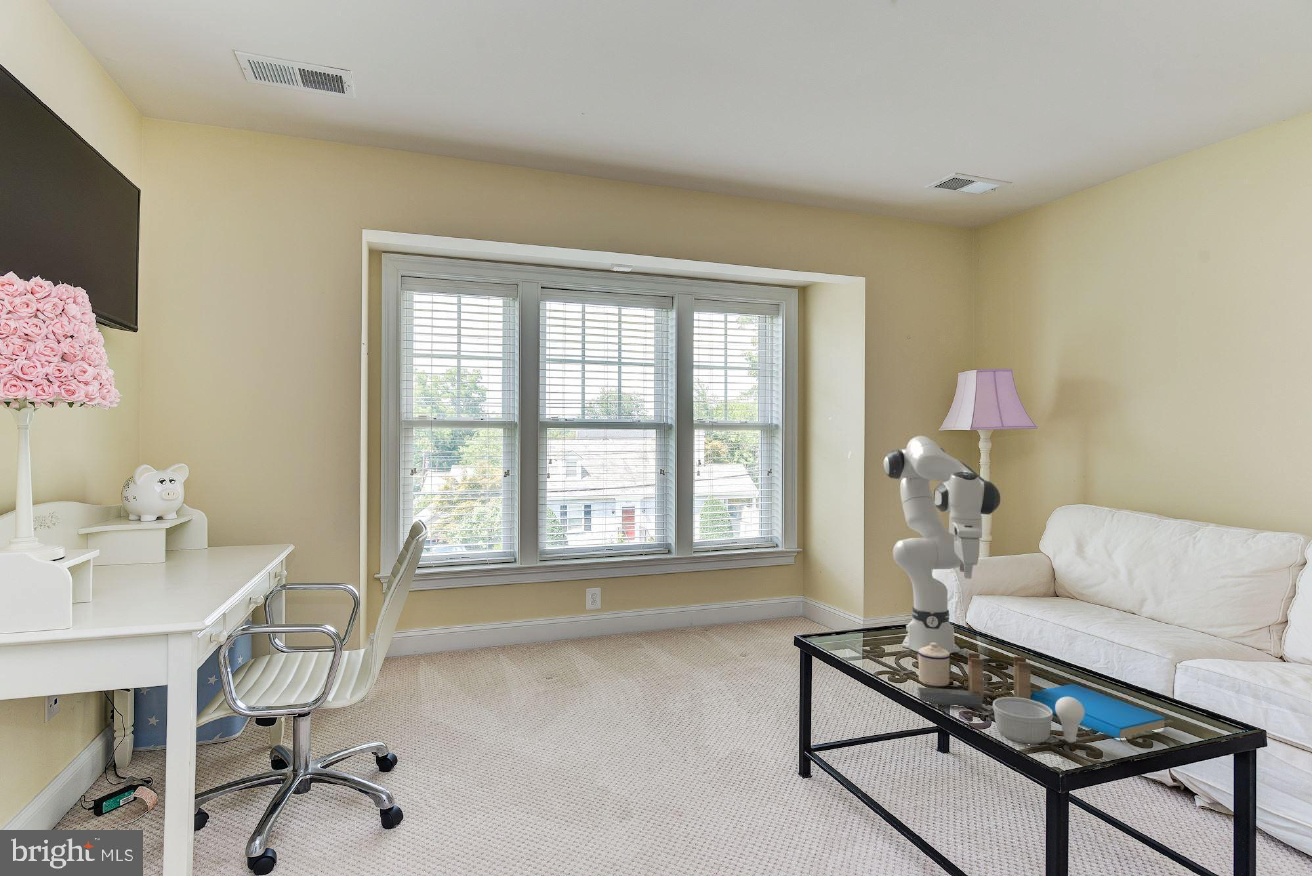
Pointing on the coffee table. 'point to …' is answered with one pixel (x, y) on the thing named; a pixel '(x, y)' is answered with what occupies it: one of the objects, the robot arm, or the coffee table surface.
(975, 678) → the post
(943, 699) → the rail
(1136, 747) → the coffee table surface
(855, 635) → the coffee table surface
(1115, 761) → the coffee table surface
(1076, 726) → the lightbulb
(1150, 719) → the book
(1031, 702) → the ramekin
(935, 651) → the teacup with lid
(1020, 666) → the post
